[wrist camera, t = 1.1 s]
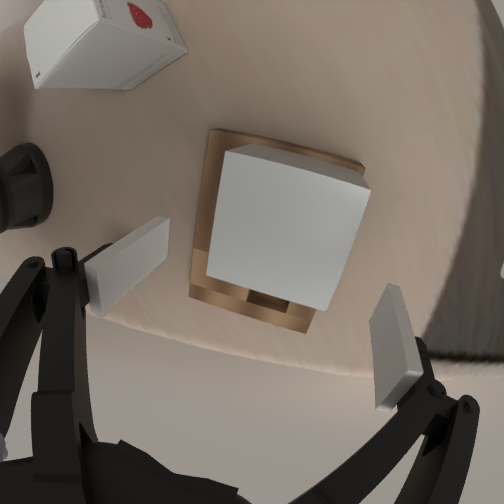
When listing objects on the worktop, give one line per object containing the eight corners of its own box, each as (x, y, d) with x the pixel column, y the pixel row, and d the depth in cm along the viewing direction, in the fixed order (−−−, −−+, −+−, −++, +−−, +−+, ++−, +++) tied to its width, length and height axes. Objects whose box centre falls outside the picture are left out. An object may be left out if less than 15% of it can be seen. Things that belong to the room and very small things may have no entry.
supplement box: (191, 52, 26) (99, 21, 13) (131, 92, 29) (32, 93, 16) (165, 0, 23) (80, -40, 10) (111, 40, 26) (20, 27, 13)
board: (198, 284, 38) (170, 320, 31) (220, 128, 29) (187, 131, 22) (308, 318, 36) (301, 363, 29) (361, 163, 27) (373, 177, 20)
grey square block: (235, 238, 30) (206, 275, 23) (253, 143, 26) (225, 150, 19) (328, 265, 29) (326, 311, 22) (358, 171, 25) (371, 190, 17)
